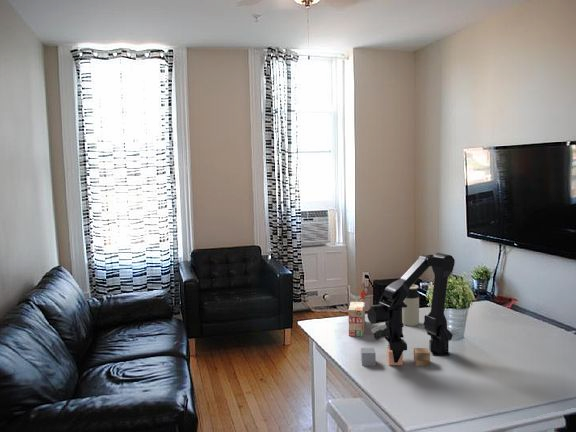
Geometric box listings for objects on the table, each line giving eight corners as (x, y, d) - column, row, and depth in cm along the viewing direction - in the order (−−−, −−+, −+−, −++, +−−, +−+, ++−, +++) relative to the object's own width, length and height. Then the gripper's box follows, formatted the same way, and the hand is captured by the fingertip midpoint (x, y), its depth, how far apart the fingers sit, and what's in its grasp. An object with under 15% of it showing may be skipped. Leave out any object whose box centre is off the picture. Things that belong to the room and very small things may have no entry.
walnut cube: (427, 360, 182) (427, 347, 182) (429, 365, 177) (430, 353, 177) (413, 360, 183) (413, 347, 182) (416, 365, 178) (416, 353, 177)
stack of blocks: (352, 320, 231) (351, 296, 230) (365, 321, 230) (364, 296, 229) (348, 336, 210) (348, 309, 209) (363, 337, 209) (362, 309, 208)
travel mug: (422, 324, 222) (422, 287, 220) (408, 327, 219) (408, 289, 217) (412, 319, 230) (412, 283, 228) (398, 322, 227) (398, 285, 225)
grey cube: (374, 360, 184) (373, 347, 183) (375, 365, 179) (375, 353, 178) (361, 360, 184) (360, 348, 184) (362, 365, 179) (362, 353, 179)
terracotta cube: (400, 359, 183) (400, 347, 183) (402, 365, 178) (402, 352, 178) (387, 359, 183) (387, 347, 183) (389, 365, 178) (389, 352, 178)
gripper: (370, 312, 189) (370, 350, 190) (375, 328, 170) (376, 370, 172) (398, 312, 188) (399, 350, 190) (407, 328, 170) (407, 370, 171)
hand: (394, 359), depth 181 cm, fingers closed on terracotta cube, 5 cm apart
